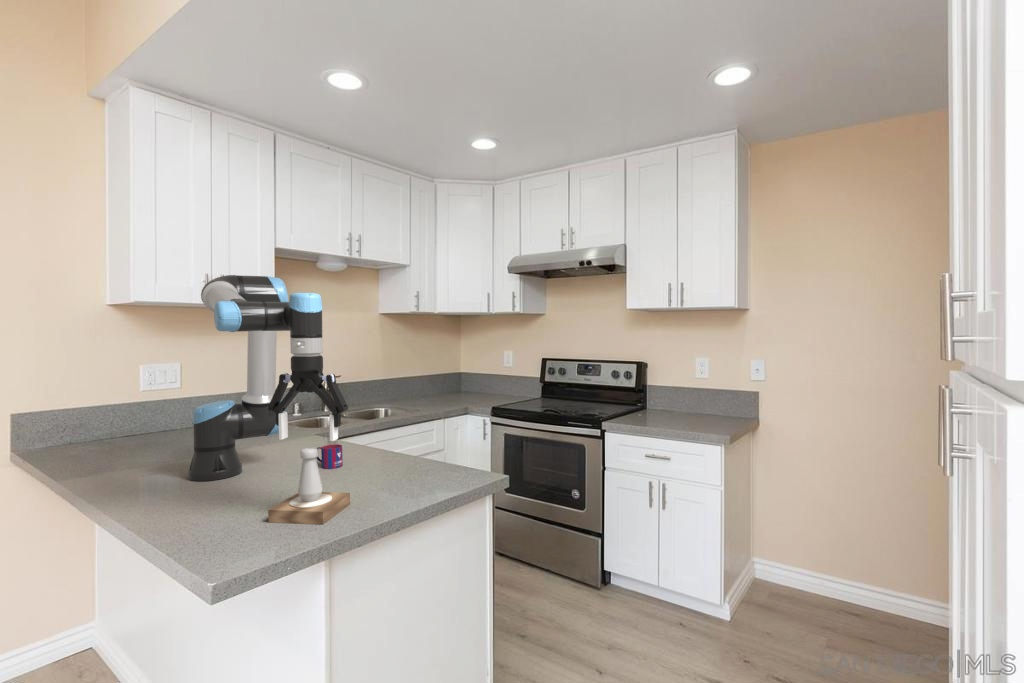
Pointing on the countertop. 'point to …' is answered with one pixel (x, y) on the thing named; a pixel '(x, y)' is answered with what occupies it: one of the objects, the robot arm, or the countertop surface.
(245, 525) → the countertop surface
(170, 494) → the countertop surface
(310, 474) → the salt shaker
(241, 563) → the countertop surface
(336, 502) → the stand
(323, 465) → the mug
